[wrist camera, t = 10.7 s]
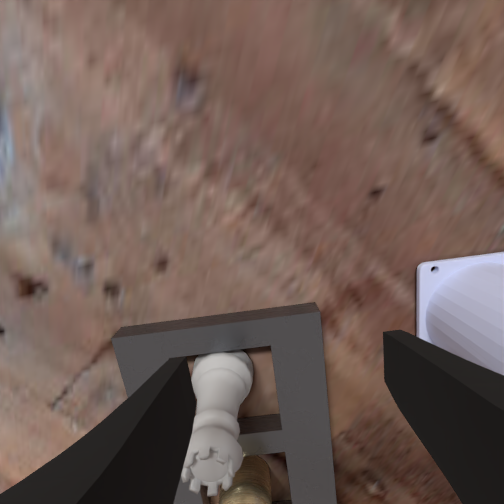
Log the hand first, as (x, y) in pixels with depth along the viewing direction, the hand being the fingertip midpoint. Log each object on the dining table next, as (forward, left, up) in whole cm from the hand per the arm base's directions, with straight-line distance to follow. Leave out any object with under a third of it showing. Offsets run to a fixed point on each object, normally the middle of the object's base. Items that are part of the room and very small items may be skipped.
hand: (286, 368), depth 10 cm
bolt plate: (+4, +12, -9) cm, 16 cm away
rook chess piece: (+4, +6, -10) cm, 12 cm away
